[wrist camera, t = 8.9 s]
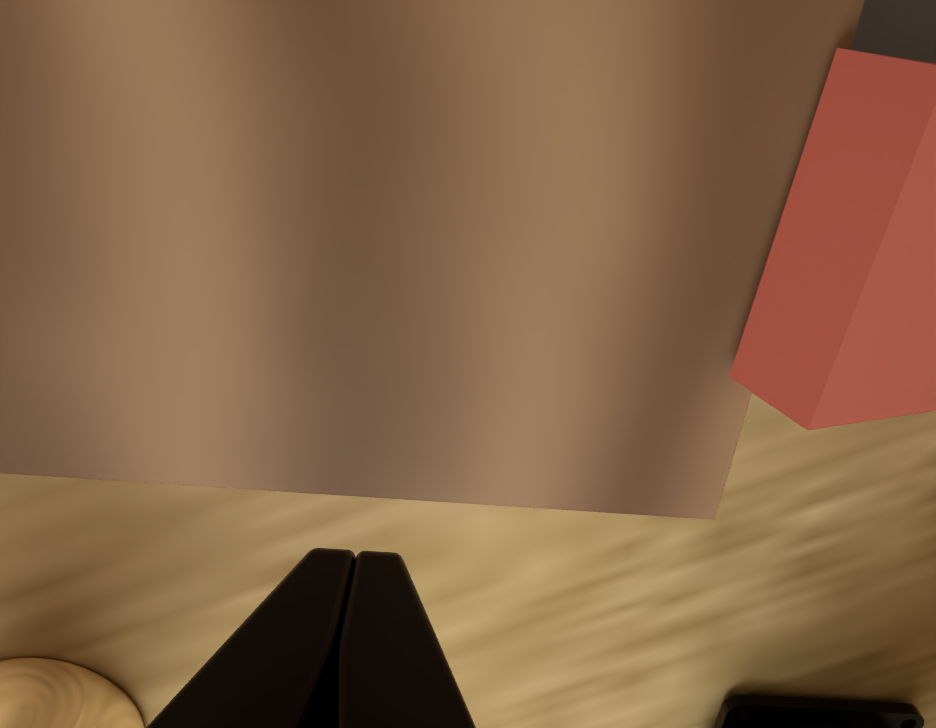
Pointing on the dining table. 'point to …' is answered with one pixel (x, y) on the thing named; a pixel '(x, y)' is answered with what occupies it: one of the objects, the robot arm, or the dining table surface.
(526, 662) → the dining table surface
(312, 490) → the deck
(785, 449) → the dining table surface
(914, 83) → the terracotta red slab
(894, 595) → the dining table surface
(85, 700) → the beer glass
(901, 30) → the mat
